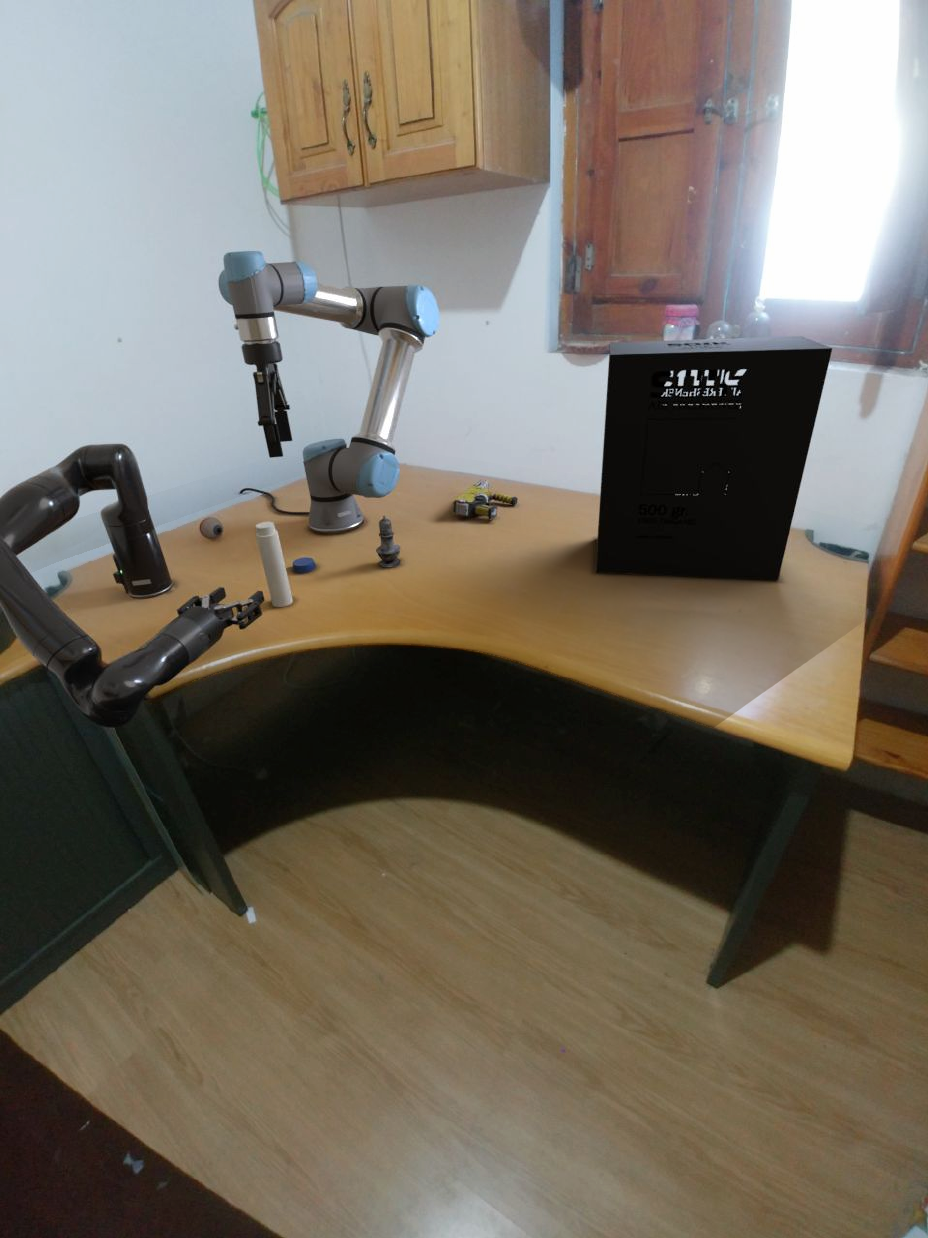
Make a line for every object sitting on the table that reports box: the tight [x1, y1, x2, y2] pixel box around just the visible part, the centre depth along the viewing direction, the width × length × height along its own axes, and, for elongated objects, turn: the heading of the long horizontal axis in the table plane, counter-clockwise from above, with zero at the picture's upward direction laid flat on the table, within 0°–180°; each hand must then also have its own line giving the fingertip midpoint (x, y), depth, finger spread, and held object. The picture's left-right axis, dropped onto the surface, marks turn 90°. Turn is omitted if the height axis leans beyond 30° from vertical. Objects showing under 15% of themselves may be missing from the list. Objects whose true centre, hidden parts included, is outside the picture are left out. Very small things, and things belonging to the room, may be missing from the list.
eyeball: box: [198, 516, 224, 541], centre depth 163 cm, size 6×6×6 cm
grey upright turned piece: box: [375, 515, 402, 568], centre depth 142 cm, size 6×6×12 cm
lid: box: [292, 556, 316, 574], centre depth 145 cm, size 5×5×2 cm
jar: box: [255, 521, 294, 608], centre depth 126 cm, size 4×4×18 cm
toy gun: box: [452, 479, 518, 521], centre depth 175 cm, size 5×24×15 cm
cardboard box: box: [595, 335, 833, 581], centre depth 128 cm, size 38×20×45 cm, turn 78°
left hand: (242, 593), depth 116 cm, fingers open, 8 cm apart
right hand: (281, 448), depth 131 cm, fingers open, 13 cm apart
